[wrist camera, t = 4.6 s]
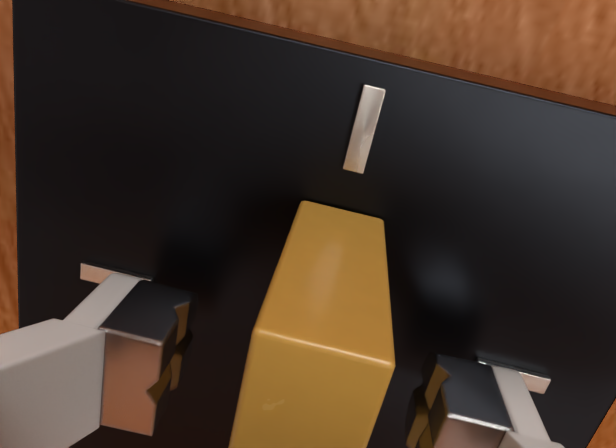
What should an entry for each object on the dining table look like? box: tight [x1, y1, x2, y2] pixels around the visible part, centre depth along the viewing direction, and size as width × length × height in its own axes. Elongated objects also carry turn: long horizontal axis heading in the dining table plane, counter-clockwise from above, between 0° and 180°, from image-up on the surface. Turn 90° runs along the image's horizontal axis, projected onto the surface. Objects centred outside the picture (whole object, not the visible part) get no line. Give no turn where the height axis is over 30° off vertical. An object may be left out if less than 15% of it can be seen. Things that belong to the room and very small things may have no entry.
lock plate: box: [12, 0, 616, 448], centre depth 11 cm, size 12×10×3 cm
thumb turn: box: [228, 201, 396, 448], centre depth 8 cm, size 5×2×4 cm, turn 168°
